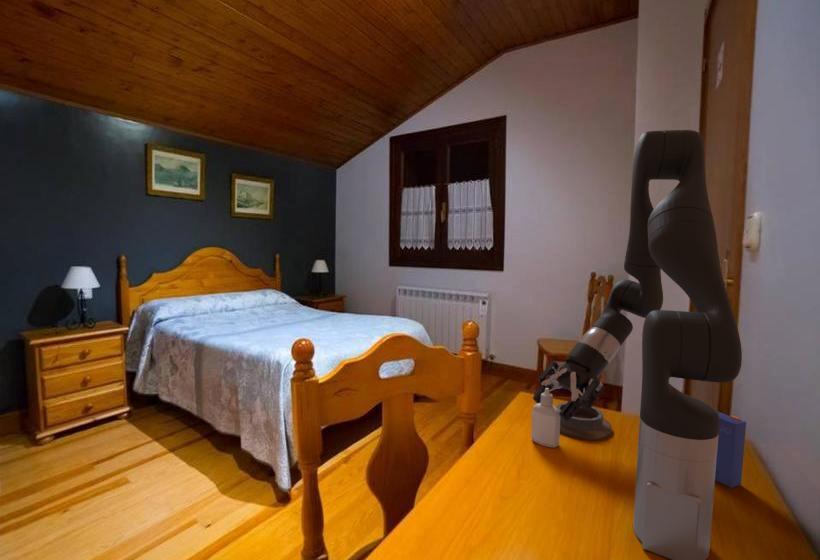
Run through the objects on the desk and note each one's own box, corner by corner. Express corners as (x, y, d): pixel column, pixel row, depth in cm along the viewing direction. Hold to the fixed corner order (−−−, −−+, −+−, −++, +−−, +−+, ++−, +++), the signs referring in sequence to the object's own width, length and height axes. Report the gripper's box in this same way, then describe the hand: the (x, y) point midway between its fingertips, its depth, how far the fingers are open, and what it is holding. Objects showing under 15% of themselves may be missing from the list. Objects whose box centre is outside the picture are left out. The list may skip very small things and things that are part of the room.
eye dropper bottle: (545, 450, 82) (547, 394, 81) (528, 438, 87) (530, 385, 86) (562, 447, 83) (564, 391, 82) (544, 435, 89) (546, 382, 87)
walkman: (741, 485, 70) (746, 420, 69) (730, 488, 70) (736, 422, 68) (696, 462, 78) (700, 403, 77) (686, 464, 77) (690, 405, 76)
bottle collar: (606, 446, 84) (606, 430, 83) (539, 428, 92) (540, 413, 91) (615, 422, 95) (616, 408, 95) (555, 408, 103) (556, 395, 103)
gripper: (561, 334, 93) (518, 387, 90) (610, 350, 80) (562, 412, 77) (578, 354, 95) (537, 407, 93) (629, 372, 82) (582, 434, 79)
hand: (548, 409), depth 85 cm, fingers open, 8 cm apart
